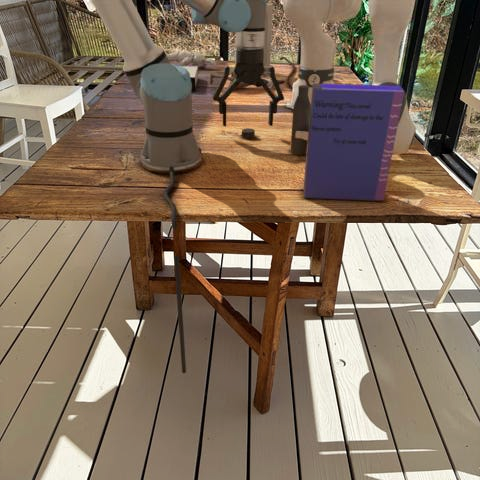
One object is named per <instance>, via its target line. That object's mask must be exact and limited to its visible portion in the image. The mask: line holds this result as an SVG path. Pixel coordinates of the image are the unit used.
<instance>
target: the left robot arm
mask: <svg viewBox="0 0 480 480" xmlns="http://www.w3.org/2000/svg"><path fill="white" fill-rule="evenodd" d="M90 1H91V3H92V5H93V7H94V9H95V10H96V12H97V14H98V16H99V17H100V19H101V21H102V23H103V24H104V26H105V28H106V30H107V32H108V34H109V35H110V38H112V41H113V42H114V44H115V46H116V48H117V50H118V52H119V53H120V55H121V57H122V59H123V65H122V71H123V72H124V74H125V76H126V78H127V80H128V82H129V83H130V85H131V87H132V90H133V92H134V94H135V95H136V96H137V98H138V99H139V100H140V102H141V104H142V106H143V115H144V125H145V126H144V127H145V138H144V142H143V146H142V150H141V154H140V162H141V166H142V168H144V169H145V170H146V171H149V172H151V173H156V174H163V175H164V174H165V175H169V179H170V183H169V185H168V186H167V187H166V188H165V189H164V191H163V198H164V200H165V202H166V203H167V204H168V206H169V208H170V213H171V227H172V228H173V229H177V228H178V221H177V209H176V206H175V203H174V202H173V200H172V199H171V197H169V193H170V191H172V190H173V188H174V186H175V183H176V182H175V181H176V180H175V174H182V173H187V172H190V171H193V170H195V169H197V168H198V167H199V166H201V163H202V149H201V148H200V147H199V146H198V143H197V141H196V137H195V135H194V130H193V129H194V126H193V101H192V100H193V99H192V98H193V97H192V91H191V89H192V83H191V78H190V74H189V72H188V70H187V69H185V68H184V67H182V66H180V65H177V64H175V63H171V61H169V59H168V57H167V55H166V53H167V52H166V51H165V50H164V48H163V47H162V46H159V45H157V44H155V43H154V41H153V39H152V37H151V35H150V33H149V31H148V29H147V27H146V24H145V23H144V21H143V19H142V18H141V15H140V13H139V12H138V10H137V7H136V6H135V3H134V2H133V0H90ZM178 1H179V2H181V3H183V4H184V5H186V6H187V7H189V8H190V14H191V18H192V21H193V22H194V23H195V24H196V25H214V26H215V27H217V28H220V29H223V30H224V31H225V32H227V33H233V34H234V33H235V34H236V32H237V39H236V38H235V46H236V45H237V46H239V47H238V48H237V49H236V48H235V58H236V65H234V66H230V65H228V64H225V65H224V67H223V74H222V75H223V76H222V78H220V80H219V82H218V84H217V86H216V88H215V90H214V92H213V94H212V100H213V101H214V102H217V103H218V112H219V115H222V126H223V127H227V101H226V100H227V99H228V97H230V95H231V94H232V93H233V92H234V91H235V90H236V89H237V88H236V87H237V86H238V85H239V84H240V83H241V82H243V83H256V82H257V81H258V82H259V83H260V84H261V88H262V89H264V91H265V92H266V93H267V95H268V96H269V98H270V99H271V100H269V105H268V122H267V123H268V125H269V127H272V126H273V123H274V114H277V113H278V104H279V102H282V101H284V100H285V95H284V94H283V92H282V89H281V85H279V84H278V81H277V80H278V79H277V77H276V69H275V67H274V65H272V64H270V66H269V67H264V65H263V61H264V49H263V48H262V47H263V46H264V38H265V17H266V4H267V3H268V1H267V0H178ZM165 52H166V53H165ZM233 71H235V73H236V75H237V76H236V78H235V79H234V81H233V82H232V83H231V84H230V83H229V84H230V85H229V84H228V86H227V88H226V89H225V90H224V87H225V85H226V84H227V81H228V80H227V79H228V77H230V76H231V74H232V72H233ZM265 71H266V72H267V73H266V74H267V75H269V77H270V78H269V79H271V80H272V82H273V85H274V87H273V88H274V90H275V92H276V94H277V95H275V94H274V92H273V91H272V90H271V88H270V87H268V86H267V85H266V83H265V82H264V81H263V80H262V79H263V77H262V76H263V75H264V74H263V73H264V72H265ZM223 90H224V91H223ZM173 259H174V274H175V275H174V276H175V288H176V290H175V291H176V304H177V318H178V329H179V330H178V333H179V345H180V362H181V373H183V374H186V373H187V363H186V349H185V348H186V347H185V333H184V332H185V331H184V317H183V316H184V315H183V314H184V313H183V302H182V301H183V299H182V298H183V297H182V285H181V268H180V256H178V255H174V256H173Z"/></svg>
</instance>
